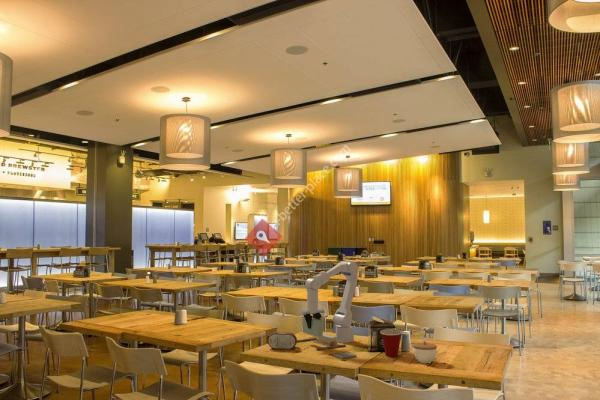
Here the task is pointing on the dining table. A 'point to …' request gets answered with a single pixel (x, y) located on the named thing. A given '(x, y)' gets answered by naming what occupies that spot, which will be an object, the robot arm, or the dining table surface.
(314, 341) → the rack
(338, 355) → the mat
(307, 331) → the pale green block
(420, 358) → the lidded jar
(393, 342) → the plastic cup
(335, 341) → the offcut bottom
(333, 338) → the offcut top
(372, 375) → the dining table surface
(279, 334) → the tin
